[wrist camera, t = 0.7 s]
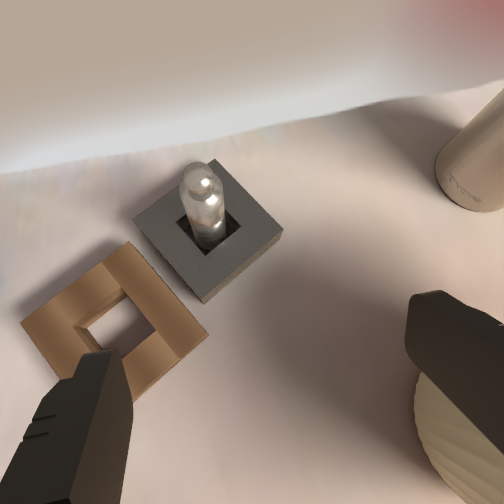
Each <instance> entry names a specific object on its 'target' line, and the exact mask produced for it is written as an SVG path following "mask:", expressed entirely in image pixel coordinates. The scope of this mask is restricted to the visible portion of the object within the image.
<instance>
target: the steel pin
mask: <svg viewBox="0 0 504 504" xmlns="http://www.w3.org/2000/svg"><path fill="white" fill-rule="evenodd" d="M183 177H184V178H183V179H182V181H181V183H180V186H179V193H180V197H181V199H182V202H183V205H184V208H185V211H186V214H187V217H188V219H189V222H190V225H191V228H192V231H193V234H194V237H195V239H196V242H197V244H198V245H199V246H200V247H201V248H203V249H206V250H213V249H215V248H216V247H217V246H218V245H220V244H221V243H222V242H223V241H224V240H226V223H225V209H224V196H223V185H222V182H221V180H220V179H219V177H218V176H217V175H216V174H214V173H213V172H212V169H211V168H210V167H209V166H208V165H207V164H205V163H202V162H195V163H192V164H190V165H188V166H187V167H186V169H185V170H184V173H183Z"/></svg>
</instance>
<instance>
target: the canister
mask: <svg viewBox="0 0 504 504" xmlns="http://www.w3.org/2000/svg"><path fill="white" fill-rule="evenodd" d="M503 326H504V324H503ZM419 376H420V377H419V380H418V383H417V384H416V392H415V395H414V408H413V410H414V412H415V424H416V426H417V429H418V436H419V438H420V440H421V441H422V444H423V449H424V451H425V453H426V454H427V455H428V457H429V459H430V462H431V464H432V465H433V467H434V468H435V469H436V470H437V471H438V472H439V474H440V476H441V478H442V479H443V480H444V481H445V482H446V483H447V484H448V485H449V486H450V487H451V488H452V489H453V490H454V492H455V493H456V494H457V495H458V496H459V497H460V498H461V499H462V500H463V501H464V502H465V503H467V504H504V455H503V454H502V453H501V452H500V451H499V450H498V449H497V448H496V447H495V446H494V445H493V444H492V443H491V442H490V441H489V440H488V439H487V438H486V437H485V436H484V434H483V433H482V432H481V431H480V430H479V429H478V428H477V427H476V426H475V425H474V424H473V423H472V422H471V421H470V420H469V419H468V418H467V417H466V416H465V415H464V414H463V413H462V412H461V411H460V410H459V409H458V408H457V407H456V406H455V405H454V404H453V403H452V402H451V401H450V400H449V399H448V398H447V397H446V396H445V395H444V393H443V392H442V391H441V390H440V389H439V388H438V387H437V386H436V385H435V384H434V383H433V382H432V381H431V380H430V379H429V378H428V377H427V376H426V375H425V374H424V373H423V372H421V373H420V375H419Z"/></svg>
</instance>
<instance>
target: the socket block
mask: <svg viewBox="0 0 504 504" xmlns="http://www.w3.org/2000/svg"><path fill="white" fill-rule="evenodd" d="M207 165H208V166H209V167H210V168H211V169H212V172H213V173H214V174H216V175H217V176H218V177H219V179H220V180H221V182H222V185H223V196H224V209H225V220H226V222H227V223H228V224H229V225H230V226H231V227H232V228H233V229H234V230H235V232H234V233H233V234H232V235H231V236H229V237H228V238H227V239H226V240H224V241H223V242H222V243H221V244H220V245H218V246H217V247H216V248H215V249H213V250H212V251H211V252H210V253H209V254H207V255H206V256H205V255H204V254H203V253H202V252H201V251H200V249H199V248H198V247H197V246H196V245H195V244H194V243H193V242H192V241H191V239H190V238H189V237H188V236H187V235H186V234H185V233H184V232H183V231H184V230H185V229H186V228H188V227H189V226H190V222H189V219H188V217H187V214H186V211H185V208H184V205H183V202H182V199H181V197H180V193H179V186H180V185H178V186H177V187H176V188H174V189H173V190H171V191H170V192H169V193H167V194H166V195H165V196H163V197H162V198H161V199H159V200H158V201H157V202H155V203H154V204H153V205H151V206H150V207H148V208H147V209H146V210H144V211H143V212H142V213H140V214H139V215H138V216H136V217H135V218H134V219H133V221H134V222H135V223H136V225H137V226H138V227H139V229H140V230H141V231H142V232H143V233H144V235H145V236H146V237H147V238H148V239H149V240H150V242H151V243H152V244H153V245H154V246H155V247H156V249H157V250H158V251H159V252H160V253H161V254H162V256H163V257H164V258H165V259H166V260H167V261H168V263H169V264H170V265H171V266H172V267H173V268H174V270H175V271H176V272H177V273H178V274H179V275H180V277H181V278H182V279H183V280H184V281H185V282H186V284H187V285H188V286H189V287H190V288H191V289H192V291H193V292H194V293H195V294H196V295H197V296H198V298H199V299H200V300H201V301H202V302H203V303H204V304H205V303H206V302H208V301H209V300H210V299H211V298H212V297H213V296H215V295H216V294H217V293H218V292H219V291H220V290H222V289H223V288H224V287H225V286H226V285H227V284H228V283H230V282H231V281H232V280H233V279H234V278H235V277H237V276H238V275H239V274H240V273H241V272H242V271H244V270H245V269H246V268H247V267H248V266H249V265H251V264H252V263H253V262H254V261H255V260H256V259H258V258H259V257H260V256H261V255H262V254H263V253H264V252H266V251H267V250H268V249H269V248H270V247H271V246H273V245H274V244H275V243H276V242H277V241H278V240H280V237H281V234H282V232H283V228H282V227H281V226H280V225H279V224H278V223H277V222H276V221H275V220H274V219H273V218H272V217H271V216H270V215H269V214H268V213H267V212H266V211H265V210H264V209H263V208H262V207H261V206H260V205H259V204H258V202H257V201H256V200H255V199H254V198H253V197H252V196H251V195H250V194H249V193H248V192H247V191H246V190H245V189H244V188H243V187H242V186H241V185H240V184H239V183H238V182H237V181H236V180H235V179H234V178H233V177H232V176H231V175H230V174H229V173H228V172H227V171H226V170H225V169H224V168H223V166H222V165H221V164H220V163H219V162H218V161H217V160H216V159H214V160H212V161H211V162H209V163H208V164H207Z"/></svg>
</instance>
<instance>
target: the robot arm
mask: <svg viewBox="0 0 504 504" xmlns="http://www.w3.org/2000/svg"><path fill="white" fill-rule="evenodd" d="M435 171H436V177H437V179H438V182H439V184H440V186H441V188H442V189H443V191H444V192H445V193H446V194H447V195H448V196H449V197H450V198H451V199H452V200H453V201H455V202H456V203H457V204H459V205H461V206H463V207H465V208H467V209H470V210H473V211H479V212H491V211H495V210H498V209H501V208H503V207H504V89H503V90H502V91H501V92H500V93H499V94H498V95H497V96H496V97H495V98H494V99H493V100H492V101H491V102H490V103H488V104H487V105H486V106H485V107H484V108H483V109H482V110H481V111H480V112H479V113H478V114H477V115H476V116H475V117H474V118H473V119H472V120H471V121H470V122H469V123H468V124H467V125H466V126H465V127H464V128H463V129H462V130H461V131H460V132H459V133H458V134H457V135H456V136H455V137H454V138H453V139H452V140H451V141H450V142H449V143H448V144H447V145H446V146H445V147H444V148H443V149H442V150H441V151H440V153H439V154H438V156H437V159H436V164H435ZM405 347H406V351H407V353H408V355H409V357H410V359H411V360H412V362H413V363H414V364H415V365H416V366H417V367H418V368H419V369H420V370H421V371H422V372H423V373H424V374H425V375H426V376H427V377H428V378H429V379H430V380H431V381H432V382H433V383H434V384H435V385H436V386H437V387H438V388H439V389H440V390H441V391H442V392H443V393H444V395H445V396H446V397H447V398H448V399H449V400H450V401H451V402H452V403H453V404H454V405H455V406H456V407H457V408H458V409H459V410H460V411H461V412H462V413H463V414H464V415H465V416H466V417H467V418H468V419H469V420H470V421H471V422H472V423H473V424H474V425H475V426H476V427H477V428H478V429H479V430H480V431H481V432H482V433H483V434H484V436H485V437H486V438H487V439H488V440H489V441H490V442H491V443H492V444H493V445H494V446H495V447H496V448H497V449H498V450H499V451H500V452H501V453H502V454H503V455H504V326H503V323H501V322H500V321H498V320H496V319H495V318H493V317H491V316H490V315H488V314H487V313H485V312H483V311H480V310H477V309H475V308H472V307H469V306H467V305H465V304H463V303H462V302H460V301H459V300H457V299H456V298H454V297H452V296H451V295H449V294H448V293H446V292H444V291H442V290H437V291H431V292H426V293H420V294H415V295H413V296H412V297H411V298H410V301H409V307H408V316H407V324H406V333H405ZM132 424H133V401H132V395H131V391H130V388H129V384H128V380H127V377H126V373H125V370H124V366H123V363H122V359H121V355H120V353H119V350H118V349H117V348H112V349H107V350H101V351H96V352H90V353H85V354H83V355H82V356H81V358H80V361H79V363H78V365H77V368H76V370H75V372H74V375H73V377H72V378H67V379H62V380H60V381H59V382H58V383H57V384H56V385H55V386H54V387H53V388H52V389H51V390H50V391H49V392H48V393H47V394H46V395H45V396H44V397H43V398H42V400H41V402H40V404H39V406H38V408H37V410H36V412H35V414H34V416H33V418H32V423H31V424H29V426H28V428H27V430H26V432H25V434H24V436H23V442H20V444H19V446H18V448H17V450H16V452H15V454H14V456H13V458H12V460H11V462H10V464H9V466H8V468H7V470H6V472H5V474H4V476H3V478H2V480H1V482H0V504H120V499H121V493H122V486H123V480H124V474H125V467H126V461H127V455H128V449H129V442H130V436H131V430H132Z"/></svg>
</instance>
